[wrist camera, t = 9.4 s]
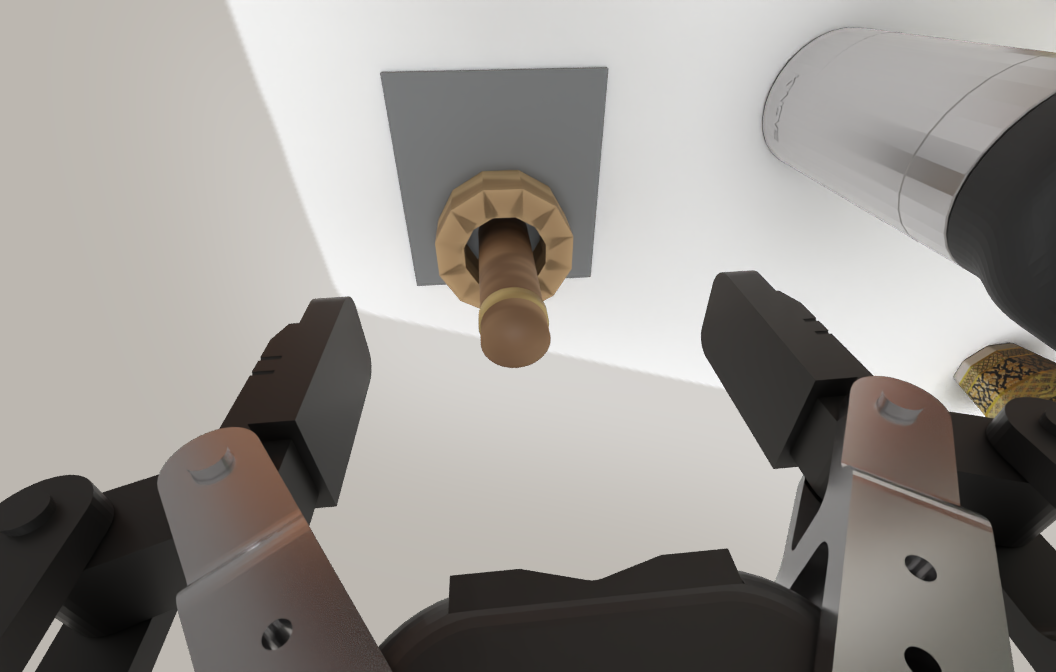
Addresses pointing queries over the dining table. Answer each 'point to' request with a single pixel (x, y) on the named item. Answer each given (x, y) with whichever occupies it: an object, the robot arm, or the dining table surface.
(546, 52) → the dining table surface
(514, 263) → the banded wooden cylinder
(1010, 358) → the ceramic cup
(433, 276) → the mat
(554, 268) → the tan faceted ring
